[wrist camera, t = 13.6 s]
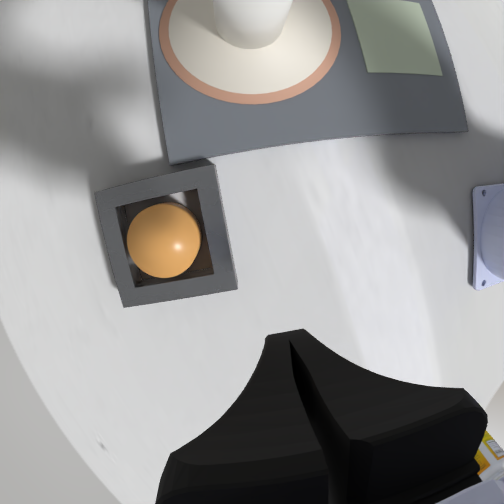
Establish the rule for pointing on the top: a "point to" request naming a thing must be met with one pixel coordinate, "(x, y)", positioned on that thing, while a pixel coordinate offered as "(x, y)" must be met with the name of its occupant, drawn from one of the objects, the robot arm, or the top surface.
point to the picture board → (302, 77)
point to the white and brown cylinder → (250, 21)
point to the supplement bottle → (490, 459)
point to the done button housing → (185, 283)
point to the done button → (164, 239)
